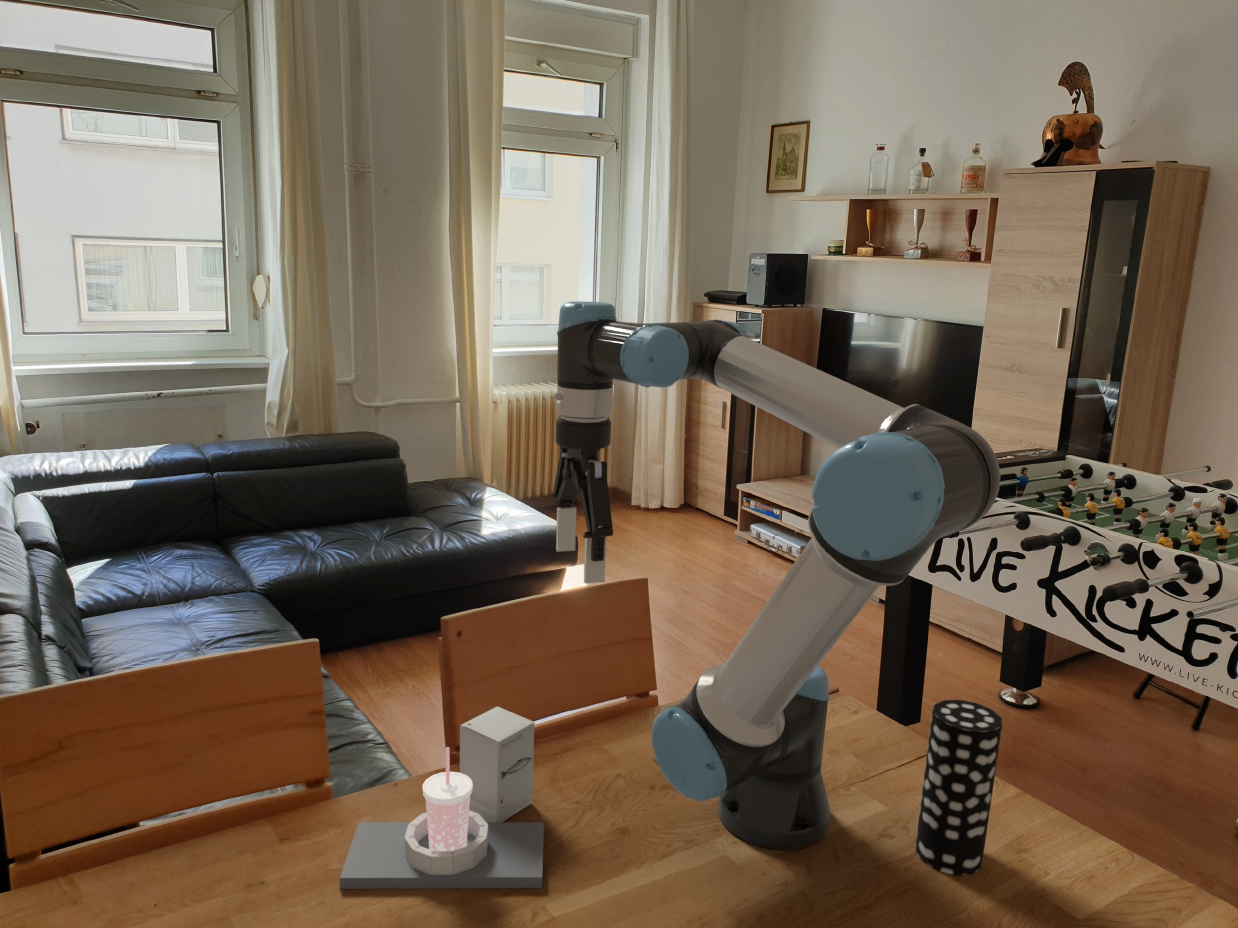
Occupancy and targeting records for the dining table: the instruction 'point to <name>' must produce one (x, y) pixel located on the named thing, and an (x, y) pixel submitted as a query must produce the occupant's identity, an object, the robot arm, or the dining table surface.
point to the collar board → (445, 857)
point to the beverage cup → (447, 808)
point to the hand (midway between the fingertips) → (579, 565)
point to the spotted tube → (958, 786)
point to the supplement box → (498, 763)
